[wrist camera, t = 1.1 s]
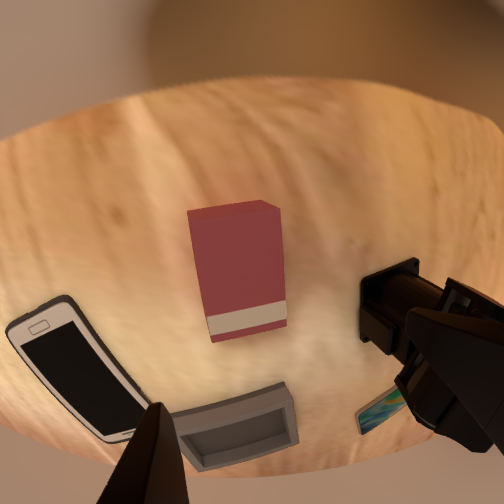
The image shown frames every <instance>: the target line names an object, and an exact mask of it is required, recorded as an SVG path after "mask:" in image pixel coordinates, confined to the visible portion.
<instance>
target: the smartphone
mask: <svg viewBox="0 0 504 504" xmlns="http://www.w3.org/2000/svg"><path fill="white" fill-rule="evenodd" d="M406 405H407V403H406V401H405V400H404V398H403V396H402V394H401V392H400V391H399V389H398V387H397V385H395V386H393V387H392V388H391V389H389V390H388V391H386V392H385V393H384V394H382V395H381V396H379V397H378V398H376V399H375V400H373V401H372V402H370V403H369V404H367V405H366V406H364V407H363V408H361V409H360V410H358V411H357V412H356V414H355V418H356V422H357V426H358V431H359V434H360V435H364V434H366V433H367V432H369V431H370V430H372V429H374V428H375V427H377V426H378V425H380V424H381V423H382V422H384V421H385V420H387V419H388V418H390V417H391V416H392V415H394V414H395V413H397V412H398V411H399V410H401V409H402V408H403V407H405V406H406Z"/></svg>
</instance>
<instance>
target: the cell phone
mask: <svg viewBox="0 0 504 504" xmlns="http://www.w3.org/2000/svg"><path fill="white" fill-rule="evenodd" d="M5 334H6V337H7V338H8V340H9V342H10V343H11V345H12V346H13V348H14V349H15V350H16V352H17V353H18V354H19V356H20V357H21V358H22V360H23V361H24V362H25V363H26V365H27V366H28V367H29V368H30V370H31V371H32V372H33V373H34V374H35V376H36V377H37V378H38V379H39V380H40V381H41V383H42V384H43V385H44V386H45V387H46V388H47V389H48V390H49V391H50V393H51V394H52V395H53V396H54V397H55V398H56V399H57V400H58V401H59V402H60V403H61V404H62V405H63V406H64V407H65V408H66V409H67V410H68V411H69V412H70V413H71V414H72V415H73V416H74V417H75V418H76V419H77V420H78V421H80V422H81V423H82V424H83V425H84V426H85V427H86V428H87V429H88V430H90V431H91V432H92V433H93V434H94V435H95V436H97V437H98V438H99V439H101V440H102V441H103V442H105V443H107V444H116V443H121V442H125V441H129V440H130V439H131V437H132V435H133V433H134V431H135V429H136V428H137V426H138V424H139V422H140V420H141V418H142V416H143V415H144V413H145V411H146V409H147V407H148V405H149V404H151V402H150V400H149V399H148V398H147V397H146V396H145V395H144V394H143V393H142V392H141V389H140V387H139V386H138V385H137V384H136V383H135V382H134V380H133V379H132V378H131V377H130V376H129V374H128V373H127V372H126V371H125V370H124V368H123V367H122V366H121V365H120V363H119V362H118V361H117V360H116V358H115V357H114V356H113V355H112V353H111V352H110V351H109V349H108V348H107V347H106V345H105V344H104V343H103V341H102V340H101V338H100V337H99V336H98V334H97V333H96V331H95V330H94V329H93V327H92V326H91V324H90V323H89V321H88V320H87V318H86V317H85V315H84V314H83V312H82V311H81V309H80V308H79V306H78V305H77V304H76V302H75V301H74V300H73V299H72V298H71V297H70V296H68V295H61V296H58V297H56V298H54V299H52V300H50V301H48V302H47V303H44V304H42V305H41V306H39V307H38V308H37V309H36V310H34V311H32V312H30V313H26V314H24V315H23V316H21V317H19V318H17V319H15V320H14V321H12V322H11V323H10V324H9V325H8V326H7V328H6V330H5Z"/></svg>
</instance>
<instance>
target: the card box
mask: <svg viewBox="0 0 504 504" xmlns="http://www.w3.org/2000/svg"><path fill="white" fill-rule="evenodd" d="M187 215H188V221H189V228H190V234H191V241H192V247H193V253H194V259H195V264H196V270H197V276H198V281H199V287H200V292H201V297H202V302H203V308H204V313H205V317H206V321H207V325H208V329H209V333H210V337H211V341H212V343H215V342H220V341H225V340H229V339H234V338H239V337H243V336H248V335H252V334H256V333H261V332H265V331H269V330H273V329H277V328H281V327H285V326H287V323H286V319H287V309H286V300H285V280H284V262H283V245H282V229H281V215H280V208H278V207H276V206H273V205H271V204H269V203H267V202H265V201H262V200H256V201H249V202H242V203H235V204H228V205H221V206H215V207H208V208H202V209H196V210H190V211H187Z"/></svg>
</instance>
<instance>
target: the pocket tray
mask: <svg viewBox="0 0 504 504" xmlns="http://www.w3.org/2000/svg"><path fill="white" fill-rule="evenodd" d="M170 415H171V417H172V419H173V422H174V426H175V430H176V435H177V439H178V443H179V447H180V451H181V452H182V453H183V455H184V456H185V457H186V458H187V459H188V461H189V462H190V463H191V464H192V465H193V466H194V468H195V469H196V470H197V471H198V472H203V471H208V470H212V469H217V468H221V467H225V466H229V465H233V464H237V463H241V462H245V461H248V460H252V459H255V458H258V457H261V456H265V455H268V454H271V453H274V452H277V451H280V450H283V449H285V448H288V447H291V446H294V445H296V444H299V436H298V430H297V423H296V417H295V410H294V404H293V398H292V396H291V394H290V392H289V391H288V389H287V387H286V385H285V383H284V382H281V383H278V384H275V385H273V386H270V387H267V388H264V389H261V390H258V391H255V392H251V393H248V394H245V395H242V396H238V397H235V398H232V399H228V400H225V401H221V402H217V403H214V404H210V405H206V406H202V407H198V408H194V409H190V410H185V411H181V412H176V413H171V414H170Z"/></svg>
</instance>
